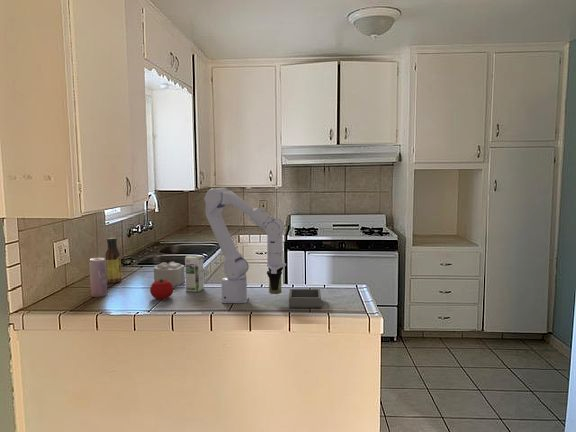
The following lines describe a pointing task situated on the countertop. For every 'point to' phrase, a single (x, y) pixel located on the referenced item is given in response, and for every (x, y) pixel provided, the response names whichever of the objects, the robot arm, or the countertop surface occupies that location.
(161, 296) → the tomato
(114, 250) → the sauce bottle
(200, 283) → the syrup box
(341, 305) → the countertop surface
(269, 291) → the green cylinder
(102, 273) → the beverage can
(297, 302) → the bin
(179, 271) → the egg container
